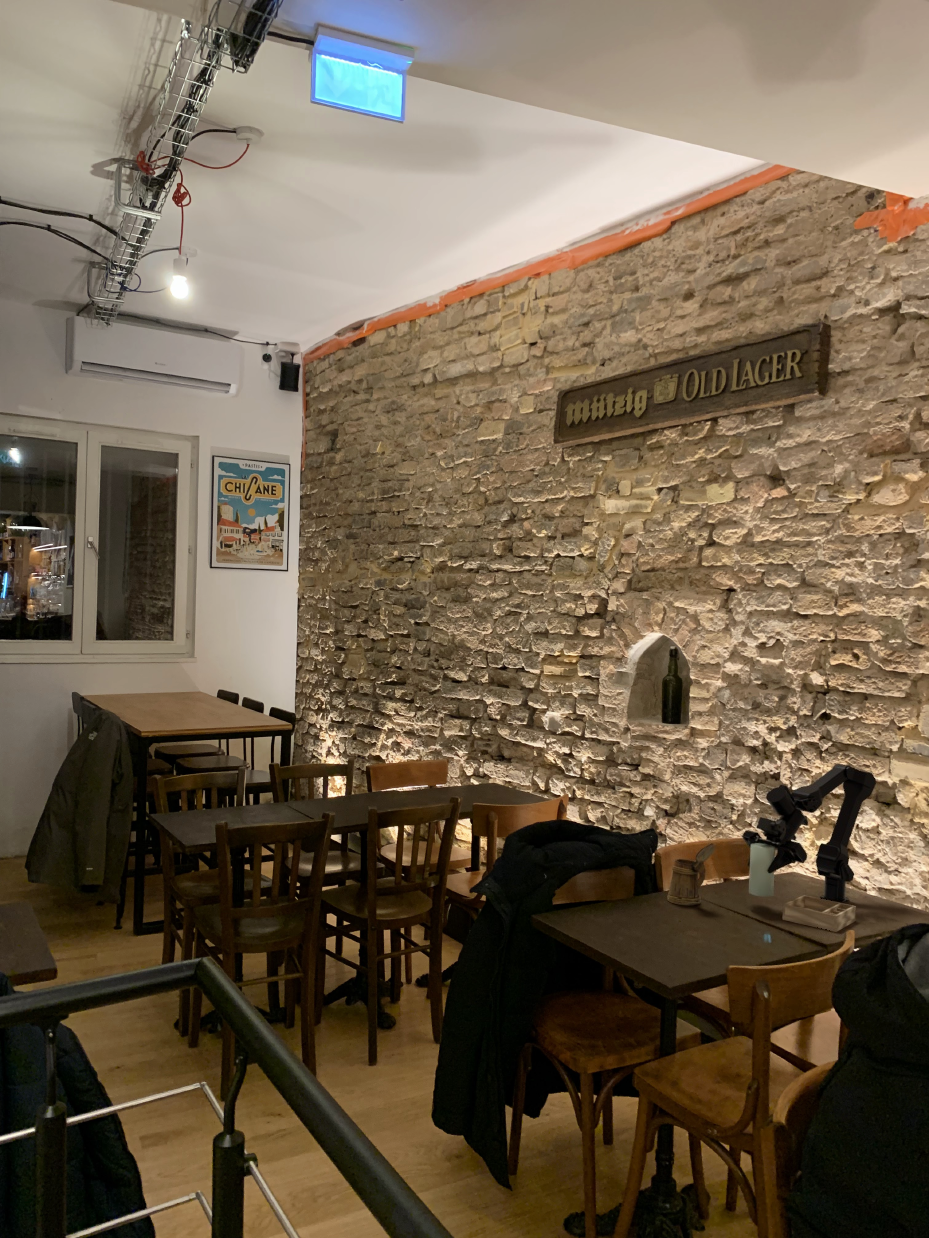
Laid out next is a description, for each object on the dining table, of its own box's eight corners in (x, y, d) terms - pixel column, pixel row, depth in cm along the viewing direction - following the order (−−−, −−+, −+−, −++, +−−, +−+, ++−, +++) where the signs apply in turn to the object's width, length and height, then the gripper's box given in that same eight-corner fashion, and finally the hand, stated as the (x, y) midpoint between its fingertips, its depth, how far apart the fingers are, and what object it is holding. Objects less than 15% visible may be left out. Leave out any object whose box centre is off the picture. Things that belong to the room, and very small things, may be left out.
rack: (803, 909, 265) (803, 895, 265) (855, 921, 256) (855, 906, 256) (782, 919, 254) (783, 904, 254) (836, 931, 245) (836, 916, 245)
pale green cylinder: (754, 889, 267) (756, 842, 267) (776, 893, 263) (778, 846, 263) (744, 892, 262) (746, 845, 262) (767, 897, 258) (769, 849, 258)
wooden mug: (698, 911, 257) (702, 844, 257) (660, 899, 268) (663, 834, 268) (719, 907, 262) (723, 841, 263) (681, 895, 273) (684, 832, 273)
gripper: (747, 801, 273) (718, 843, 267) (802, 813, 257) (772, 857, 251) (765, 827, 277) (737, 869, 271) (819, 840, 261) (791, 885, 255)
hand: (758, 869), depth 262 cm, fingers closed on pale green cylinder, 6 cm apart
